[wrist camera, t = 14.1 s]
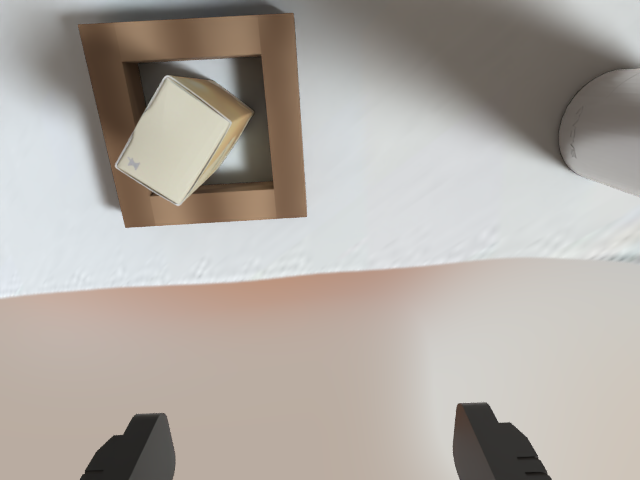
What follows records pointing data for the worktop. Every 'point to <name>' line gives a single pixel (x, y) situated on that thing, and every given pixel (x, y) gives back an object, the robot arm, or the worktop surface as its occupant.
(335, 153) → the worktop surface
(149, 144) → the skincare box
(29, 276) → the worktop surface
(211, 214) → the socket block
